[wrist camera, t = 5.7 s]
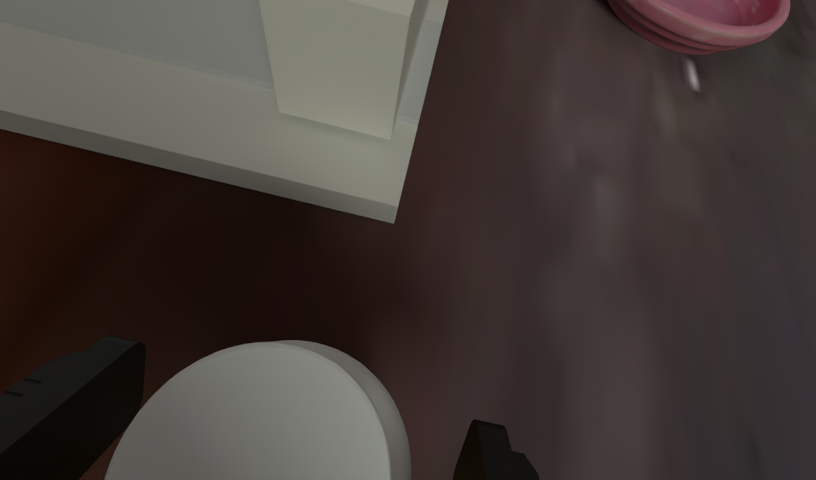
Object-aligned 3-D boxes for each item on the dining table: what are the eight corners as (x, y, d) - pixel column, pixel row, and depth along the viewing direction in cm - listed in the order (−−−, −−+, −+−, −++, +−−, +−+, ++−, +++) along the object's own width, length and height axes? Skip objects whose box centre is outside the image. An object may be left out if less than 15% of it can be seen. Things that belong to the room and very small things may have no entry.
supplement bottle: (355, 587, 13) (380, 819, 5) (188, 536, 13) (-82, 676, 5) (401, 408, 16) (472, 352, 7) (261, 365, 16) (169, 258, 7)
